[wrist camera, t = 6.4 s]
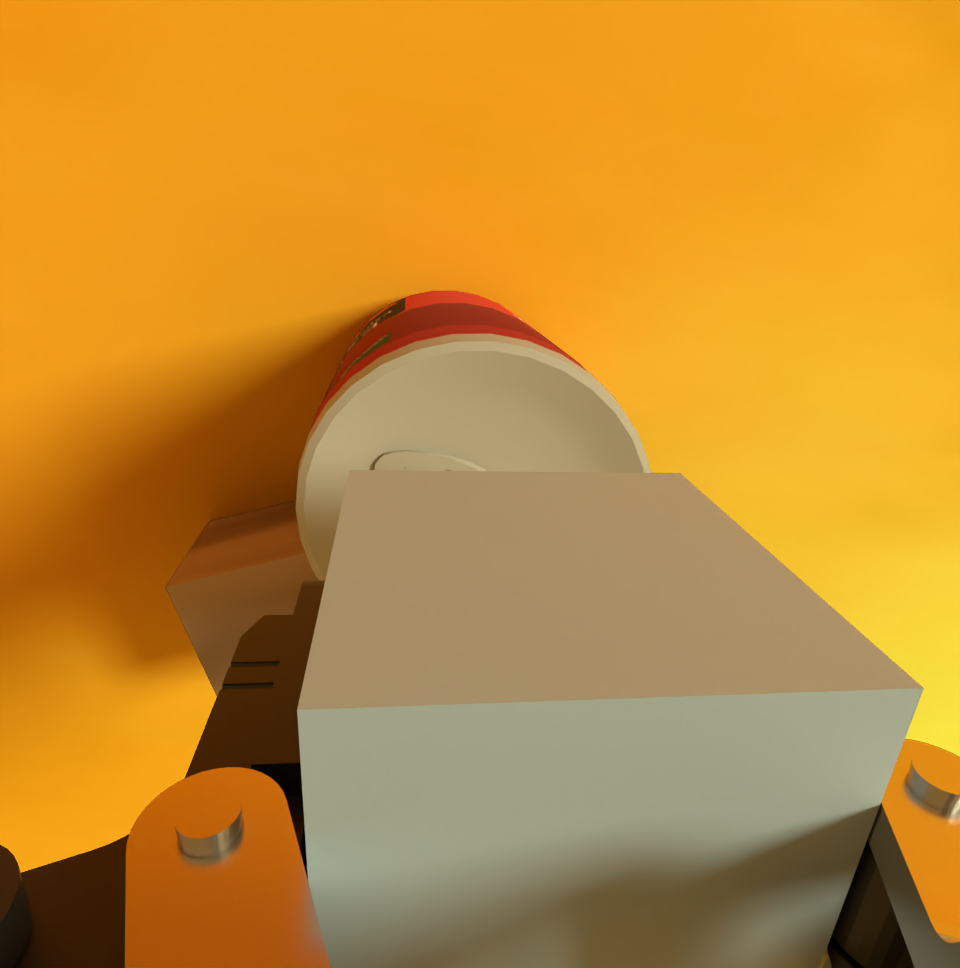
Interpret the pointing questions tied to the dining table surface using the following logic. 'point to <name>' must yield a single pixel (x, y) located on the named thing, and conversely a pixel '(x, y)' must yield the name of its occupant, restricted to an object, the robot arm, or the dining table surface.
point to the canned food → (454, 407)
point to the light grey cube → (581, 731)
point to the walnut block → (238, 581)
